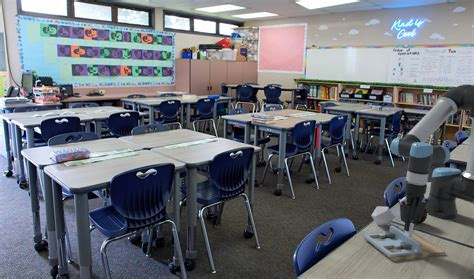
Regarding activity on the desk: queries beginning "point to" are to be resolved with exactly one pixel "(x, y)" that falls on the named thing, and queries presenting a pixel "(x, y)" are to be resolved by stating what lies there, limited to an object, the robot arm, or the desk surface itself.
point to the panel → (395, 243)
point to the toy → (423, 216)
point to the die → (382, 216)
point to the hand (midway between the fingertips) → (407, 237)
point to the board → (423, 253)
